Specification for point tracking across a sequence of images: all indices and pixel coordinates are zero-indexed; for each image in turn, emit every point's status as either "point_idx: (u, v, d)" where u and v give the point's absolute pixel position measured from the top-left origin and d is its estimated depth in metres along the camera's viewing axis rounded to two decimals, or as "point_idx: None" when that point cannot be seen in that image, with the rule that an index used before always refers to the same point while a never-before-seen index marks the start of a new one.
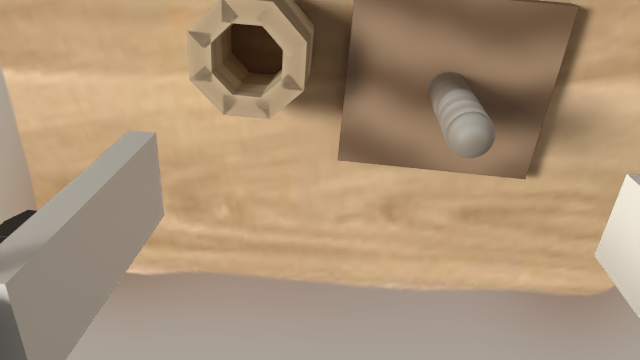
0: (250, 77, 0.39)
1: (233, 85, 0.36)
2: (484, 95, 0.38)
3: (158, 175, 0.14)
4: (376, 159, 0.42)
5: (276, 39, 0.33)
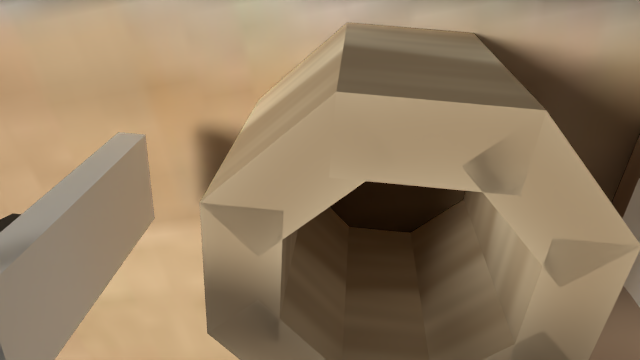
0: (359, 255, 0.15)
1: (335, 320, 0.12)
2: None
3: (148, 177, 0.14)
4: None
5: (527, 235, 0.09)
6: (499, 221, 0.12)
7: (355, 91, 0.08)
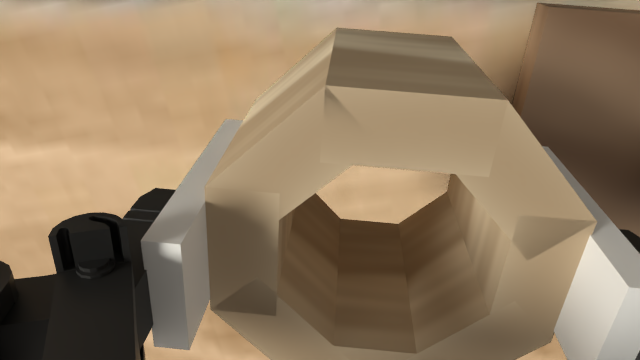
0: (350, 243, 0.16)
1: (327, 299, 0.13)
2: None
3: None
4: None
5: (496, 212, 0.10)
6: (476, 207, 0.13)
7: (341, 85, 0.09)
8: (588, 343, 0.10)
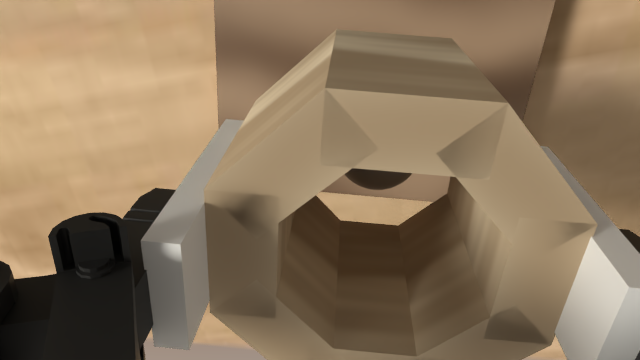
0: (350, 245, 0.16)
1: (327, 302, 0.13)
2: None
3: None
4: None
5: (496, 215, 0.10)
6: (476, 209, 0.13)
7: (341, 87, 0.09)
8: (588, 343, 0.10)
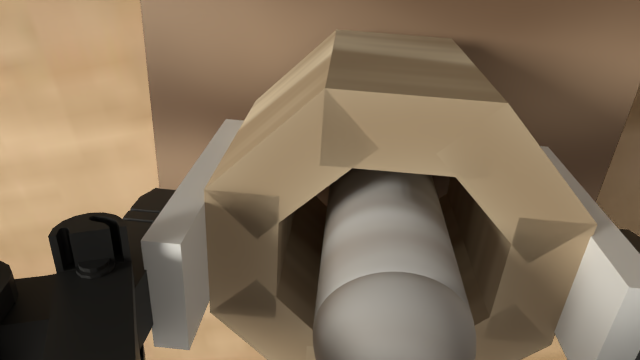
0: None
1: None
2: None
3: None
4: None
5: (496, 215, 0.10)
6: (476, 209, 0.13)
7: (341, 88, 0.09)
8: (588, 343, 0.10)
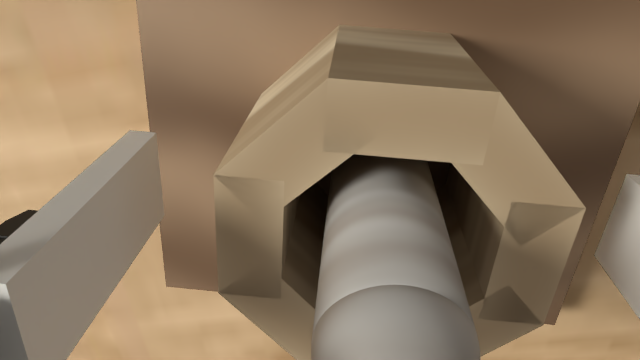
0: None
1: None
2: None
3: (158, 174, 0.14)
4: None
5: (489, 199, 0.11)
6: (473, 197, 0.14)
7: (342, 78, 0.10)
8: None
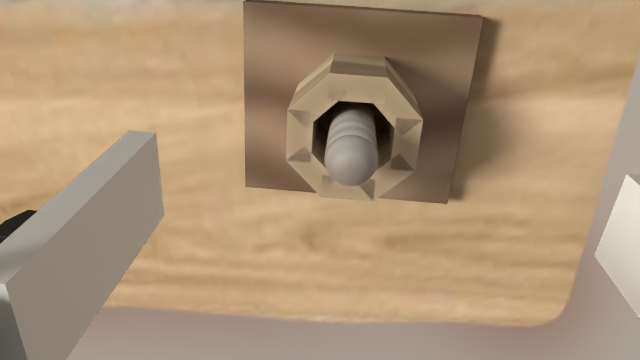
0: None
1: None
2: None
3: (158, 175, 0.14)
4: (286, 185, 0.39)
5: (388, 117, 0.29)
6: (391, 125, 0.32)
7: (334, 73, 0.29)
8: None
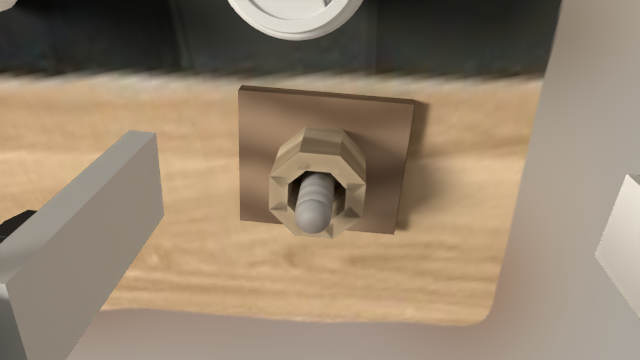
0: None
1: None
2: None
3: (158, 175, 0.14)
4: (271, 219, 0.51)
5: (341, 182, 0.41)
6: None
7: (302, 152, 0.40)
8: None
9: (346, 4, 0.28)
